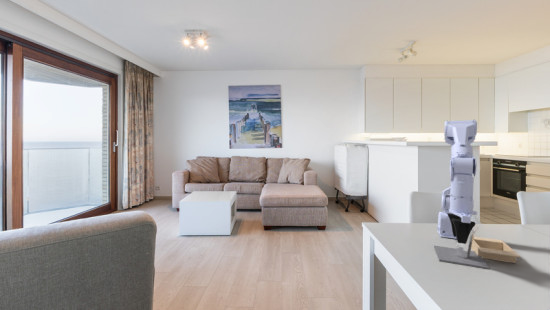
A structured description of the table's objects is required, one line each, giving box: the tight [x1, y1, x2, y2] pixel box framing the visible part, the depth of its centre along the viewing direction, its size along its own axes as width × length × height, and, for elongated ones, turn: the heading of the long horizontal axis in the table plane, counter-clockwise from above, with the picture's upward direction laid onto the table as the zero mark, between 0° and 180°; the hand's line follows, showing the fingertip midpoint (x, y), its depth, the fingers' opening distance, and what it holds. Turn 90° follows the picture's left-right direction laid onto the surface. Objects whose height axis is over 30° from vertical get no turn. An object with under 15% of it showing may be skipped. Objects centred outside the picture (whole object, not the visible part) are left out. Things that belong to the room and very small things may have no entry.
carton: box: [471, 236, 521, 264], centre depth 84 cm, size 9×14×3 cm, turn 156°
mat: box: [433, 245, 490, 270], centre depth 82 cm, size 12×12×1 cm
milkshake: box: [456, 227, 479, 258], centre depth 81 cm, size 4×5×10 cm
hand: (459, 239), depth 82 cm, fingers open, 5 cm apart
